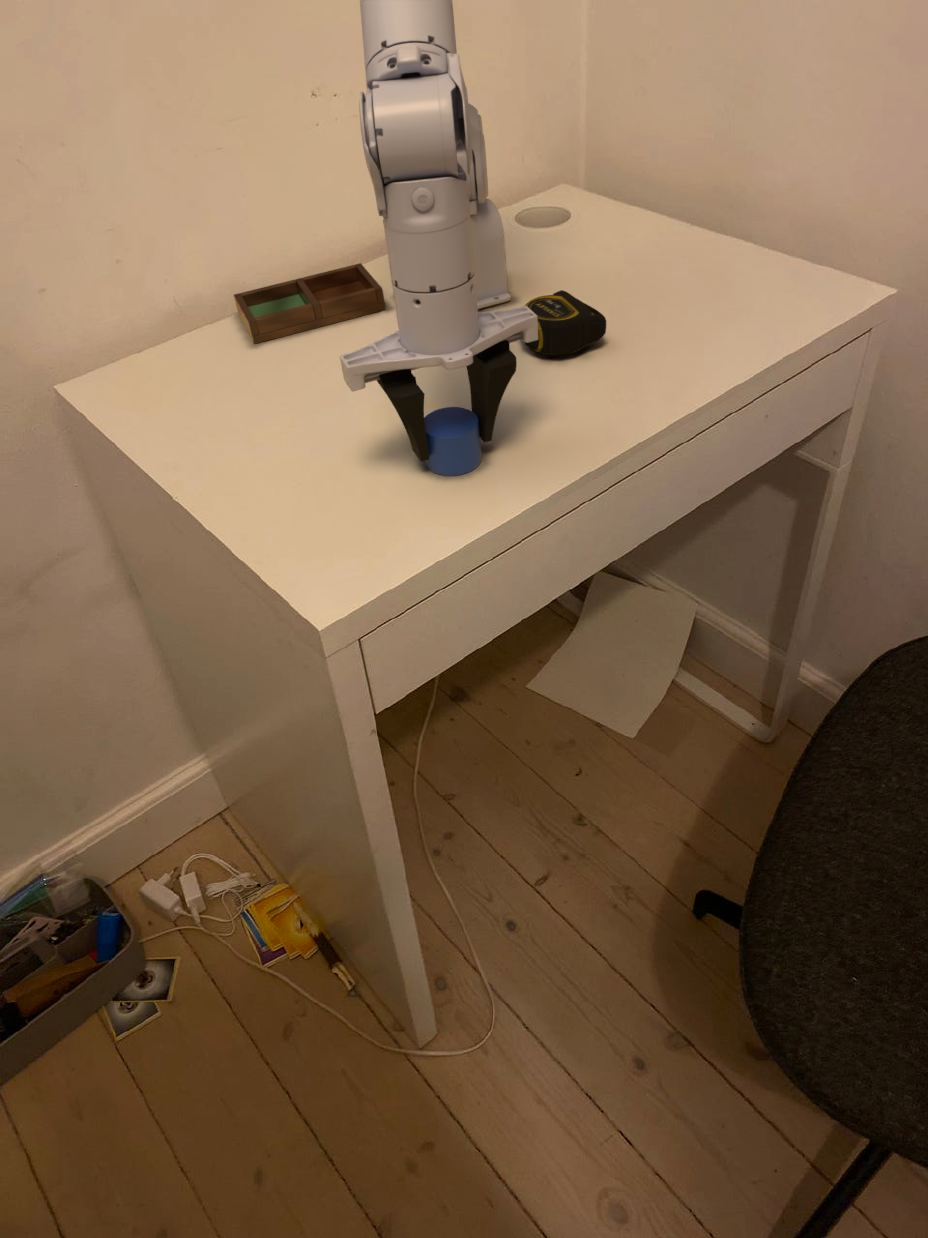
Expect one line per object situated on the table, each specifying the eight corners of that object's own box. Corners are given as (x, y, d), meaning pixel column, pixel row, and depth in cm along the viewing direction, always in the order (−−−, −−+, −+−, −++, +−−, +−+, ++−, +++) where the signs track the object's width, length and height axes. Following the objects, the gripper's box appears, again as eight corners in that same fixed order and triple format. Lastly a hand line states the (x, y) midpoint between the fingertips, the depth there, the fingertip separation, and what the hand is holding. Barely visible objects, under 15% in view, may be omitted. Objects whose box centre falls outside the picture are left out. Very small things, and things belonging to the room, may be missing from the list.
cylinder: (468, 438, 76) (465, 400, 73) (490, 466, 72) (487, 427, 70) (418, 454, 75) (413, 416, 72) (438, 482, 72) (432, 443, 69)
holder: (364, 283, 99) (360, 262, 97) (385, 309, 94) (382, 287, 92) (239, 315, 96) (233, 294, 94) (254, 344, 91) (248, 322, 89)
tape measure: (609, 348, 84) (610, 309, 82) (545, 371, 82) (544, 331, 80) (568, 320, 89) (568, 282, 86) (506, 341, 87) (504, 303, 84)
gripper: (348, 324, 59) (380, 498, 68) (555, 270, 62) (558, 443, 71) (319, 284, 64) (352, 451, 73) (511, 235, 67) (520, 402, 76)
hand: (452, 444), depth 73 cm, fingers open, 5 cm apart
